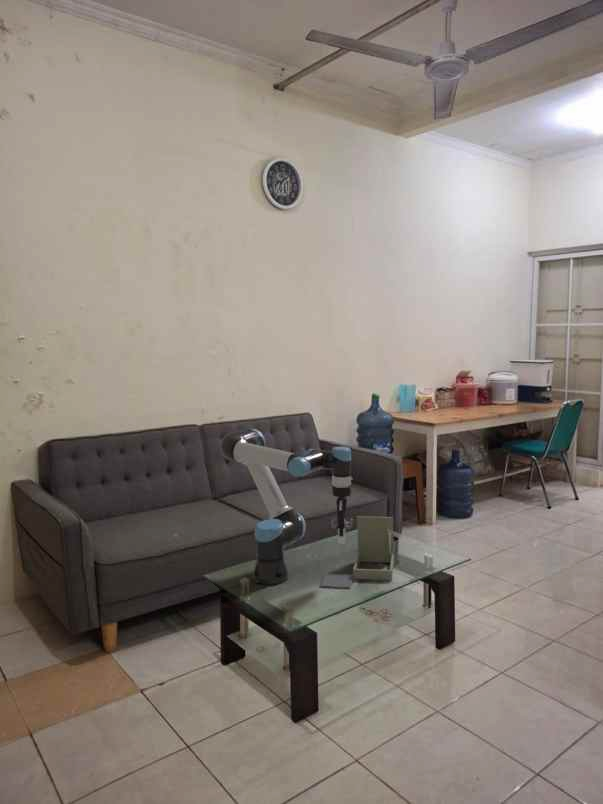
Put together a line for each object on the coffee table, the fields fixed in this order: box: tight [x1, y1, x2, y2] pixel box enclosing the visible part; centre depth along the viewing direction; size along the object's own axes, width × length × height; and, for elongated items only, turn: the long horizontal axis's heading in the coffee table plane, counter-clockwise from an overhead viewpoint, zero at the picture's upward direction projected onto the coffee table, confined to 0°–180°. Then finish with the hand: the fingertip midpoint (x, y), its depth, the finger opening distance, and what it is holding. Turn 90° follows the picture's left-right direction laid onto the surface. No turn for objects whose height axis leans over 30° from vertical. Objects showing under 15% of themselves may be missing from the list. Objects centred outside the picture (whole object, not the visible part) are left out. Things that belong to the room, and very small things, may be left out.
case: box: [352, 515, 395, 581], centre depth 248 cm, size 16×20×20 cm
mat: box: [319, 573, 354, 589], centre depth 239 cm, size 12×12×1 cm
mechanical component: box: [328, 516, 355, 530], centre depth 239 cm, size 3×10×10 cm, turn 81°
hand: (341, 541), depth 239 cm, fingers closed on mechanical component, 3 cm apart
